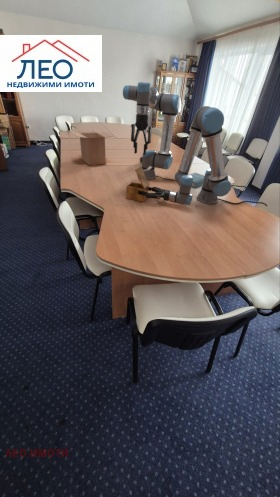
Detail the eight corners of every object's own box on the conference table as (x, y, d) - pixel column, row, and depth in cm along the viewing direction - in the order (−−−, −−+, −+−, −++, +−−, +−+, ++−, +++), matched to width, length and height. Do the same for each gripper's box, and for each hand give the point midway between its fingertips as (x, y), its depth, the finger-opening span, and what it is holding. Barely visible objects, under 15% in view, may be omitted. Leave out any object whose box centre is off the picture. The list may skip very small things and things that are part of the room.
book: (194, 177, 212) (195, 172, 209) (208, 182, 203) (210, 177, 200) (180, 182, 199) (181, 177, 196) (194, 188, 190) (196, 182, 187)
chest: (126, 198, 165) (126, 185, 160) (131, 193, 173) (131, 181, 167) (143, 201, 162) (144, 189, 156) (147, 197, 169) (148, 185, 163)
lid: (134, 170, 151) (145, 165, 146) (140, 166, 158) (150, 161, 154) (143, 189, 156) (154, 184, 151) (148, 184, 163) (158, 180, 159)
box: (116, 165, 229) (116, 136, 213) (83, 168, 214) (80, 137, 198) (102, 154, 259) (101, 128, 243) (71, 156, 244) (68, 129, 228)
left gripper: (125, 112, 134) (125, 152, 148) (154, 115, 129) (151, 157, 143) (130, 111, 140) (129, 150, 154) (158, 115, 135) (155, 154, 149)
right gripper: (164, 206, 150) (134, 200, 156) (173, 195, 167) (145, 189, 173) (166, 196, 146) (135, 190, 152) (174, 185, 163) (146, 180, 169)
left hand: (140, 153), depth 148 cm, fingers open, 6 cm apart
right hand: (140, 189), depth 163 cm, fingers closed on chest, 10 cm apart
